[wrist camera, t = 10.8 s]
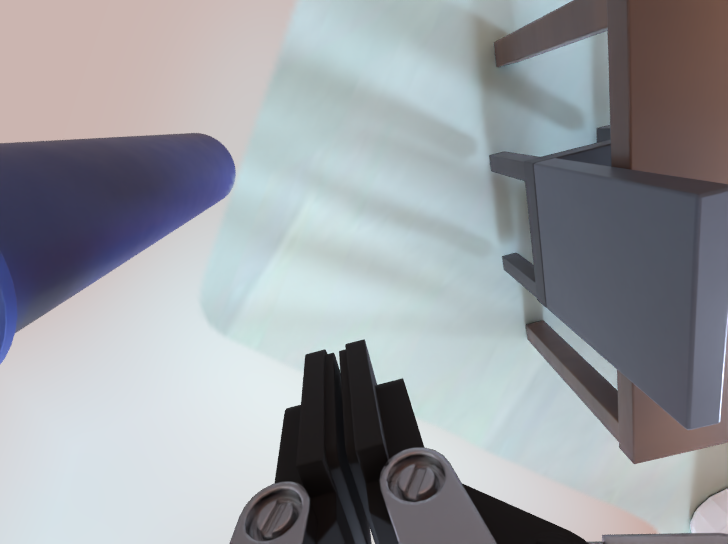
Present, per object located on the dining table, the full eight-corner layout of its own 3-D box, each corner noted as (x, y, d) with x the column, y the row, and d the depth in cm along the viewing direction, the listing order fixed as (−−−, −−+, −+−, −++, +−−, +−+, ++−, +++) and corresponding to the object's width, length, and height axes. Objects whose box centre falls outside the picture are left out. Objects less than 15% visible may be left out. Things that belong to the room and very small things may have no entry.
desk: (525, 341, 27) (633, 465, 17) (491, 40, 21) (627, -35, 11) (705, 298, 27) (920, 398, 17) (723, -20, 21) (1075, -152, 11)
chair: (502, 270, 25) (687, 432, 12) (487, 154, 23) (698, 195, 9) (616, 242, 25) (931, 375, 12) (613, 122, 22) (1003, 119, 9)
